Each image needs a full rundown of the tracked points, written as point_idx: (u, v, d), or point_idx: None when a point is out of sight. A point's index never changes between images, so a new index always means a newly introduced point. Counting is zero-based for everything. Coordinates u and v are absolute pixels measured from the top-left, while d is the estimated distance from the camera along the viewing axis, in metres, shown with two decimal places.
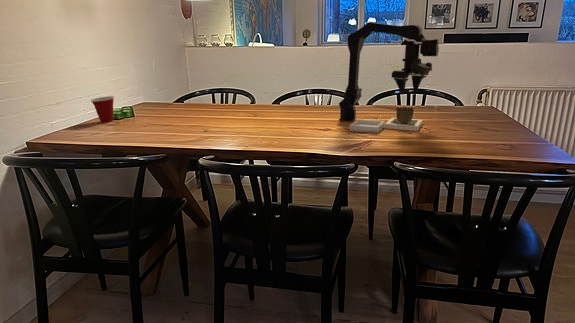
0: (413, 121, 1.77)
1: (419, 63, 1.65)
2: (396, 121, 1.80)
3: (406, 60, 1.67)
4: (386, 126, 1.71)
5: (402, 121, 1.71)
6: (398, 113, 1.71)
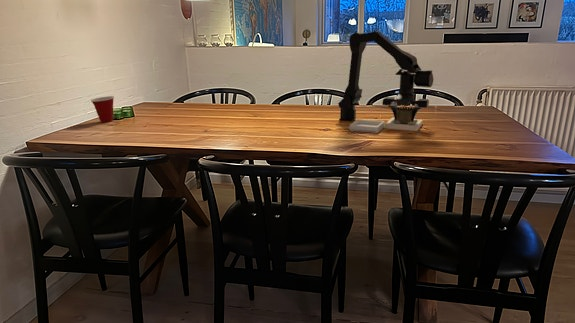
0: (413, 121, 1.77)
1: (404, 93, 1.66)
2: (396, 121, 1.80)
3: None
4: (386, 126, 1.71)
5: (402, 121, 1.71)
6: (398, 113, 1.71)
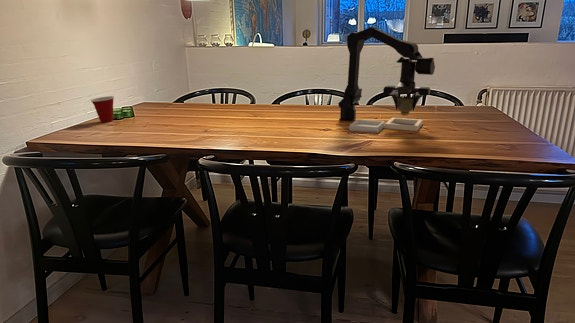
0: (413, 121, 1.77)
1: (405, 81, 1.65)
2: (396, 121, 1.80)
3: None
4: (386, 126, 1.71)
5: (403, 110, 1.70)
6: (399, 101, 1.69)
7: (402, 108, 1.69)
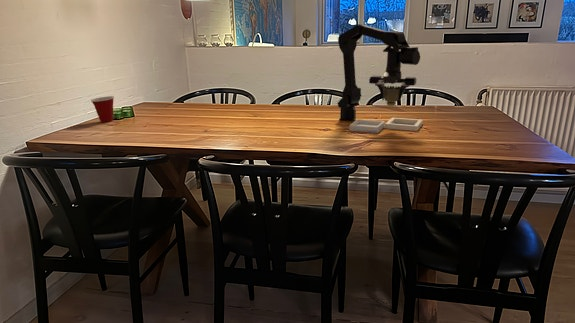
0: (413, 121, 1.77)
1: (391, 71, 1.62)
2: (396, 121, 1.80)
3: None
4: (386, 126, 1.71)
5: (389, 100, 1.67)
6: (385, 92, 1.67)
7: (388, 98, 1.67)
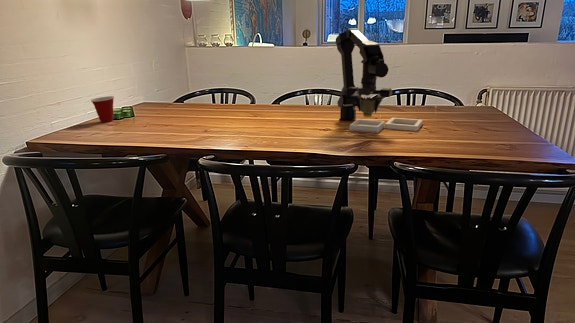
0: (413, 121, 1.77)
1: (366, 83, 1.62)
2: (396, 121, 1.80)
3: None
4: (386, 126, 1.71)
5: (365, 111, 1.67)
6: (361, 103, 1.66)
7: (364, 110, 1.66)
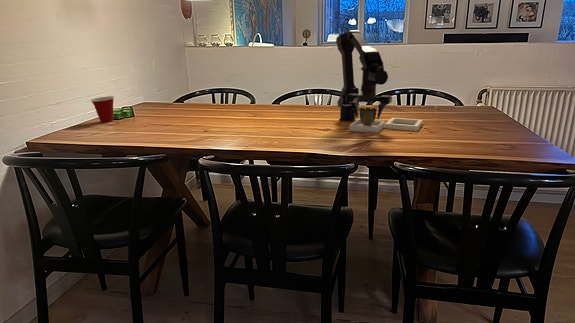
0: (413, 121, 1.77)
1: (366, 89, 1.62)
2: (396, 121, 1.80)
3: None
4: (386, 126, 1.71)
5: (365, 121, 1.68)
6: (361, 113, 1.68)
7: (364, 120, 1.68)
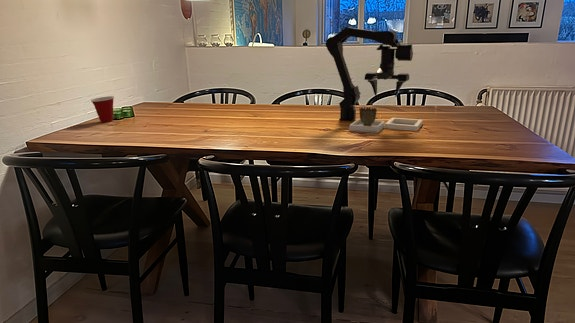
0: (413, 121, 1.77)
1: (384, 68, 1.71)
2: (396, 121, 1.80)
3: None
4: (386, 126, 1.71)
5: (365, 122, 1.68)
6: (361, 114, 1.68)
7: (364, 120, 1.68)
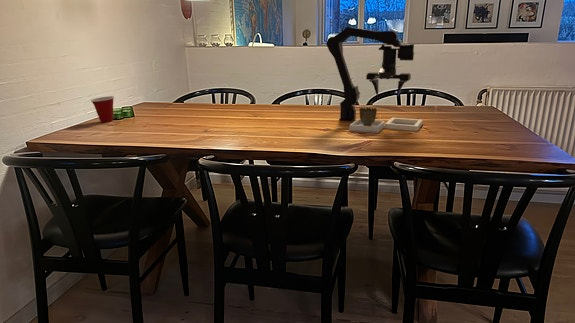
0: (413, 121, 1.77)
1: (386, 67, 1.73)
2: (396, 121, 1.80)
3: None
4: (386, 126, 1.71)
5: (365, 122, 1.68)
6: (361, 113, 1.68)
7: (364, 120, 1.68)
